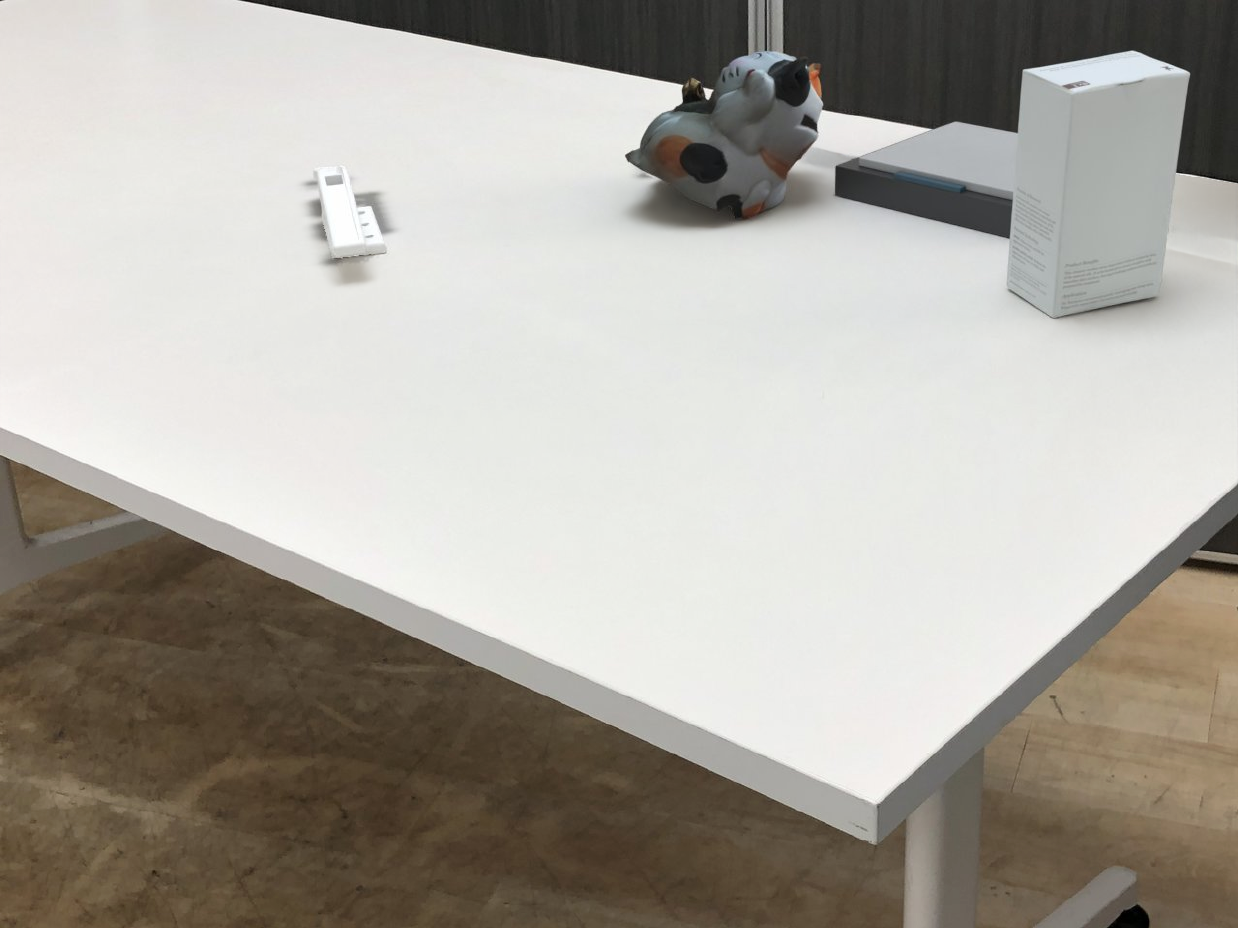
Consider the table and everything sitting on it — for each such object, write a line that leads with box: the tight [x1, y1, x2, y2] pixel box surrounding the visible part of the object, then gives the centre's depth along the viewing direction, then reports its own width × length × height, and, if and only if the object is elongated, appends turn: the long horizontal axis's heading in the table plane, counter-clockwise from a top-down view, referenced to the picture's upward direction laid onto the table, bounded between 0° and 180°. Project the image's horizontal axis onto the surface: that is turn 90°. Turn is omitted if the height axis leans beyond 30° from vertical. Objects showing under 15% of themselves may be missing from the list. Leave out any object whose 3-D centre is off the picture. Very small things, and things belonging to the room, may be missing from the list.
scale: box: [834, 121, 1018, 239], centre depth 112 cm, size 17×15×3 cm
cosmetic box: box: [1006, 50, 1191, 319], centre depth 90 cm, size 8×6×15 cm
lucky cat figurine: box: [624, 50, 824, 220], centre depth 112 cm, size 15×12×14 cm
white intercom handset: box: [312, 164, 387, 259], centre depth 109 cm, size 4×20×5 cm, turn 15°
